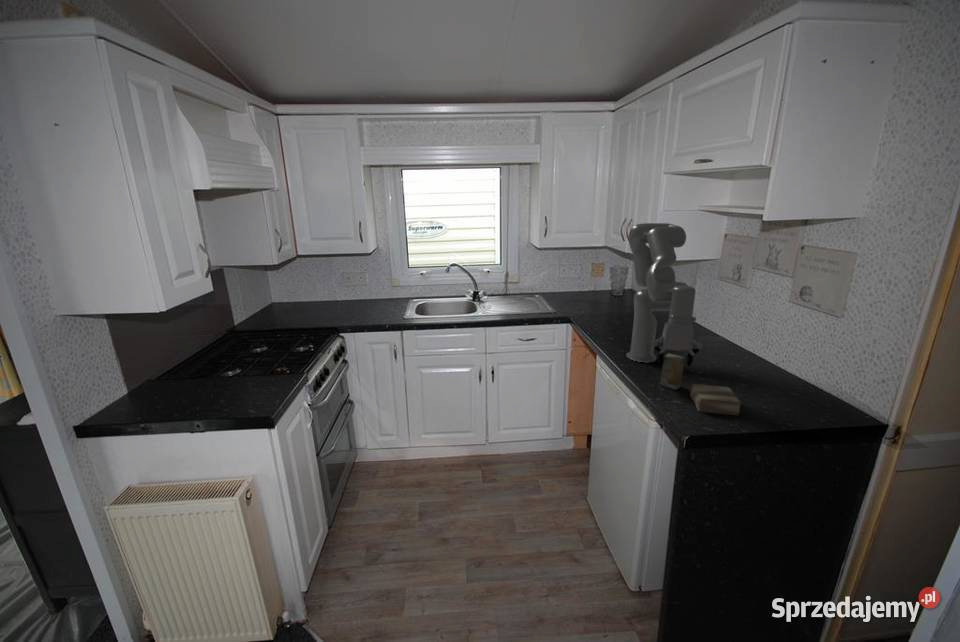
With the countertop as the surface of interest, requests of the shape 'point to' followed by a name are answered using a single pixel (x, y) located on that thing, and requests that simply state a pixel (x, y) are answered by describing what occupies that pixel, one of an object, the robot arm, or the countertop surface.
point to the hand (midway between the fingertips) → (674, 363)
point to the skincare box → (672, 371)
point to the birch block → (715, 399)
